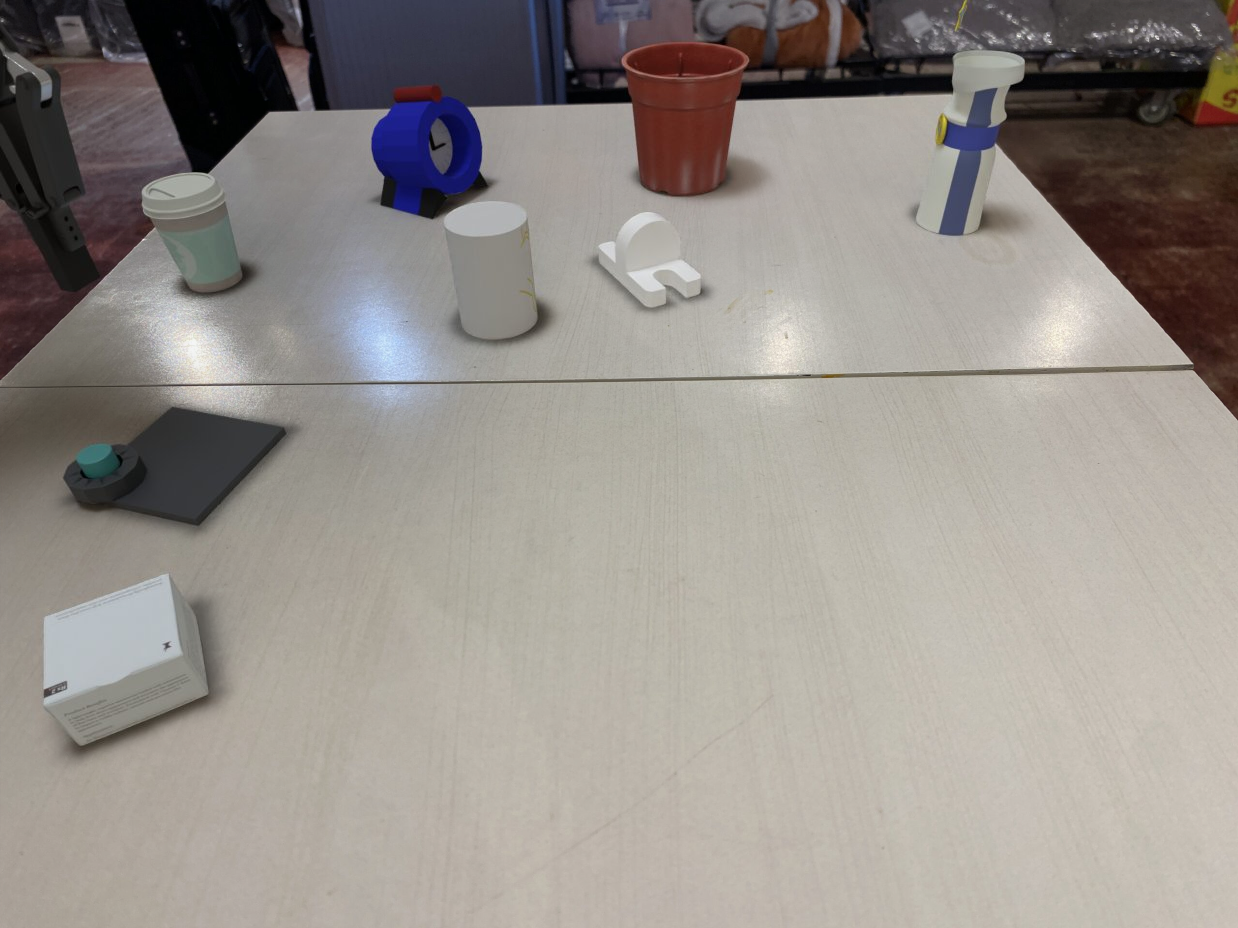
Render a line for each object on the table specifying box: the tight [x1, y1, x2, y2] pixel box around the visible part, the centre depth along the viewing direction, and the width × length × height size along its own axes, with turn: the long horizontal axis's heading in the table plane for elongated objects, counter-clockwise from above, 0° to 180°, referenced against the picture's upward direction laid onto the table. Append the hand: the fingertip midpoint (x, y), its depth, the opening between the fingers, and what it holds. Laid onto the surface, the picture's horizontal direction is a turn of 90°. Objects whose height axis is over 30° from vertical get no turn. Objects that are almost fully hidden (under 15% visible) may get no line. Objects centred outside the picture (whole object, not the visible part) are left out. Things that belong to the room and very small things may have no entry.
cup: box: [443, 200, 539, 340], centre depth 83 cm, size 8×8×12 cm
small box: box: [42, 572, 210, 747], centre depth 52 cm, size 8×8×5 cm
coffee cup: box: [141, 172, 243, 293], centre depth 91 cm, size 8×9×12 cm
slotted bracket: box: [597, 211, 702, 308], centre depth 90 cm, size 13×7×8 cm, turn 27°
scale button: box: [75, 442, 120, 479], centre depth 65 cm, size 3×3×2 cm
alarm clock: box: [370, 84, 490, 220], centre depth 108 cm, size 12×12×15 cm
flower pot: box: [621, 41, 750, 197], centre depth 110 cm, size 16×16×16 cm
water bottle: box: [915, 0, 1026, 236], centre depth 94 cm, size 8×9×25 cm
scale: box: [62, 406, 287, 526], centre depth 68 cm, size 13×13×3 cm
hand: (81, 283), depth 66 cm, fingers closed
